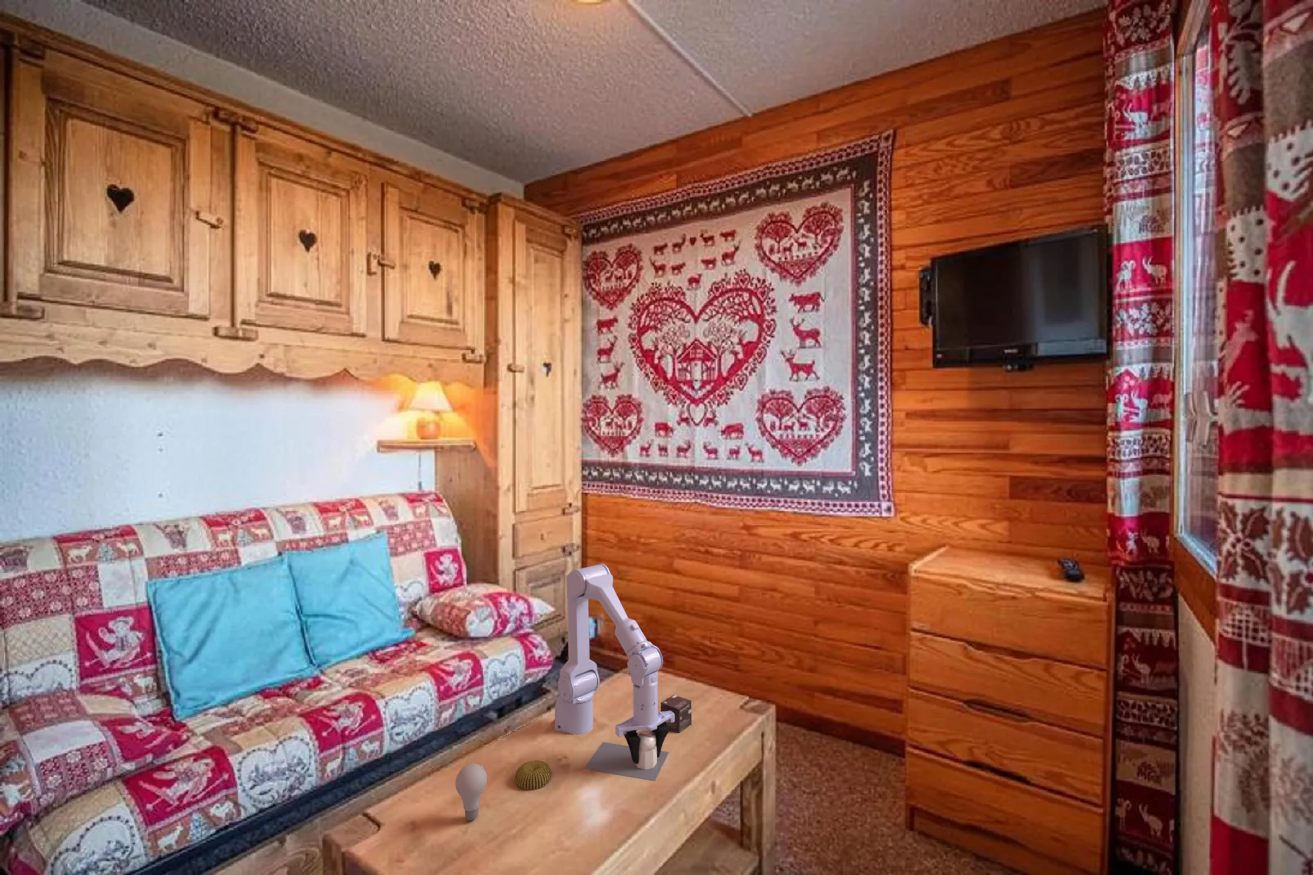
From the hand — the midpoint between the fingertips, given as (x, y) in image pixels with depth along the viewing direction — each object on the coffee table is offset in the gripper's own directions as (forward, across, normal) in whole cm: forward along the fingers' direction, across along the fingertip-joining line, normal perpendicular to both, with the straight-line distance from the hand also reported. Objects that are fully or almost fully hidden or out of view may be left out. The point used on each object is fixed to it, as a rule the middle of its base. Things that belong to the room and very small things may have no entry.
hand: (645, 758), depth 139 cm
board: (+2, -3, +3) cm, 5 cm away
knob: (+1, 0, 0) cm, 1 cm away
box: (+2, +15, +12) cm, 19 cm away
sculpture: (+2, -25, +6) cm, 26 cm away
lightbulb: (+2, -39, +1) cm, 39 cm away
